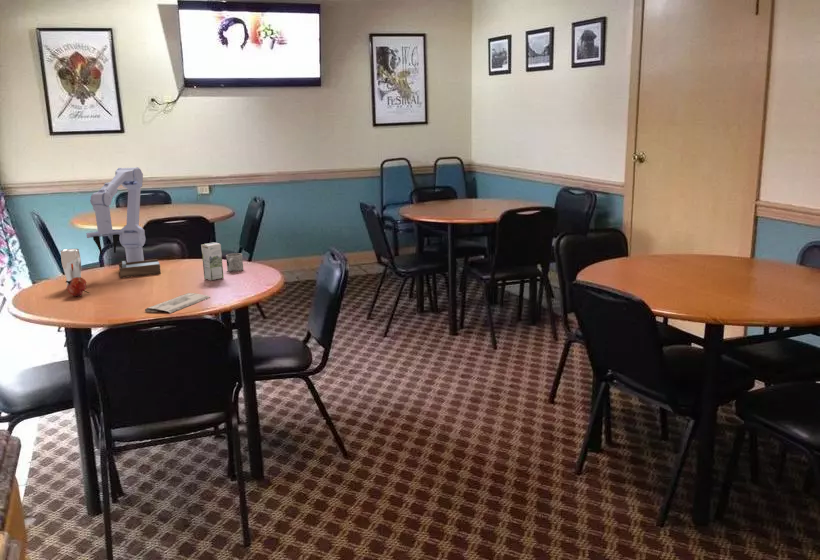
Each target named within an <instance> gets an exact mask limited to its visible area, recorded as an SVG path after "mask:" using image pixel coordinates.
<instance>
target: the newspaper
mask: <svg viewBox="0 0 820 560" xmlns="http://www.w3.org/2000/svg"><path fill="white" fill-rule="evenodd" d="M209 297H210V296H209V295H206V294H201V293H193V292H188V293H185V294H181V295H179V296H176V297H174V298H171V299H169V300H165V301H163V302H161V303H157V304H155V305H152V306H149V307H146V308H145V309H144V312H147V313H148V312H150V313H157V312H159V311H164V312H168V313H169V314H173V313H175V312H178V311H180V310H184V309H185V308H188V307H191V306H193V305H195V304H198V303H200V301H201V302H203V300H204V301H206V300H208V299H207V298H209ZM205 299H206V300H205ZM209 299H210V298H209Z"/></svg>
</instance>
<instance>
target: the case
mask: <svg viewBox="0 0 820 560" xmlns="http://www.w3.org/2000/svg"><path fill="white" fill-rule="evenodd" d="M158 260H159V259H157V258H156V259H147V260H145V259H144V261H136V262H127V261H126V265H129V264H138V263H148V262H157V261H158ZM158 262H159V261H158ZM118 268H119V275H120V279H122V278H123V277H125V278H131V276H133V277H141V276H140V275H142V276H149V274H151V275H159V274H158V273H160V274H161V264H160V263H159V264H154V265H145V266H136V267H126V268H122V262H120V263H118ZM123 279H124V278H123Z"/></svg>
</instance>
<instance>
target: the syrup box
mask: <svg viewBox="0 0 820 560" xmlns="http://www.w3.org/2000/svg"><path fill="white" fill-rule="evenodd" d="M200 247H201V256H202V257H201V258H202V267H203V277H204V280H206V279H208V280H207V281H211V280H213V281H217V280H216V279H218V280H221V278H223V279H224V268H223V267H224V266H223V254H222V244H221V243H218V242H209V243H204V244H200Z"/></svg>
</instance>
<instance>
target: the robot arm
mask: <svg viewBox="0 0 820 560" xmlns="http://www.w3.org/2000/svg"><path fill="white" fill-rule="evenodd" d="M114 172H115V173H114V176H113V178H111V180H110V181H109V182H104V183H103V186H101V188H99V190H98V191H97V192H93V193H92V194H91V196H90V200H89V201H90V204H91V206H92V209H93V211H94V213H95V221H96V228H97V229H96V230H97V231H94V232H93V231H92V232H86V239H89V238H92V239H93V241H94V243H95V244H96V246H97V248H98V250H99V253H100V255H103V249H102V244H101V239H100V237H109V236H110V237H112V243H113V254H114V253H115V254H116V253H117V251H116V250H117V243H118V240H119V243H120V245H121V246H122V247H123V248H124V251H125V257H126V263H127V262H136V261H145V257H144V251H143V249H144V248H143V246H144V245H145V244H146V241H147V239H146V232H145V231H146V230H145V229H144V228H143V227H142V226H140V211H141V209H140V207H141V188H142V187H143V182H144V181H143V180H144V173H143V172H142V169H141V168H140V167H137V166H136V167H118V168H117V169H116V170H115V171H114ZM120 186H122V187H123V188H125V189H127V191H128V192H127V207H126V208H127V210H126V224H125V226H123V227H122V228H121V229H113V225H112V223H113V222H112V216H111V215H112V214H111V210H110V209H111V208H110V206H111V204H112V201H113V197H115V195H116V194H117V193H118V191H119V190H118V188H119V187H120Z"/></svg>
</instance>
